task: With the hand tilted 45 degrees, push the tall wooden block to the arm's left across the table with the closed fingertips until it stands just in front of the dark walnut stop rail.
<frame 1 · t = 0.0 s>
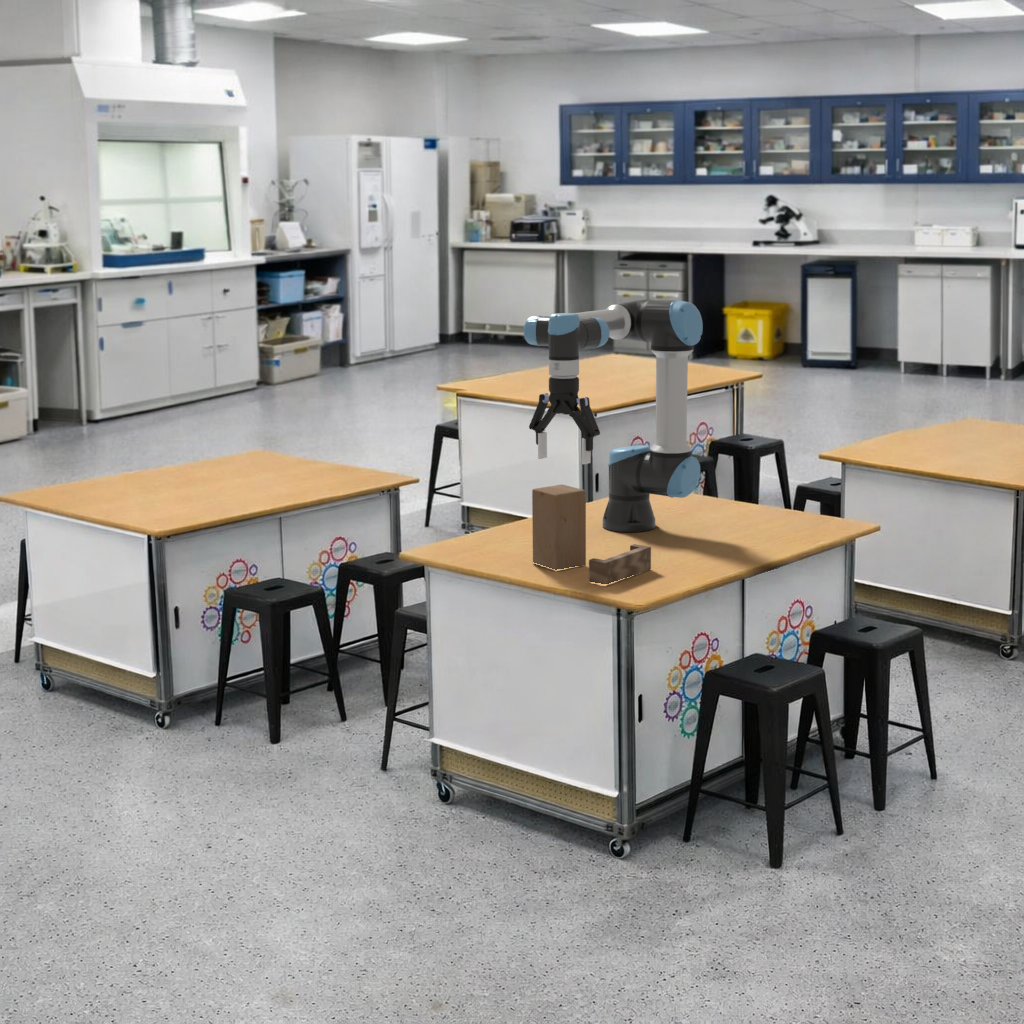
hand: (564, 460, 361), 28 cm above the workbench, tool pointing down, fingers open, 13 cm apart
stop rail: (625, 577, 359), on the workbench
wooden block: (559, 566, 371), on the workbench
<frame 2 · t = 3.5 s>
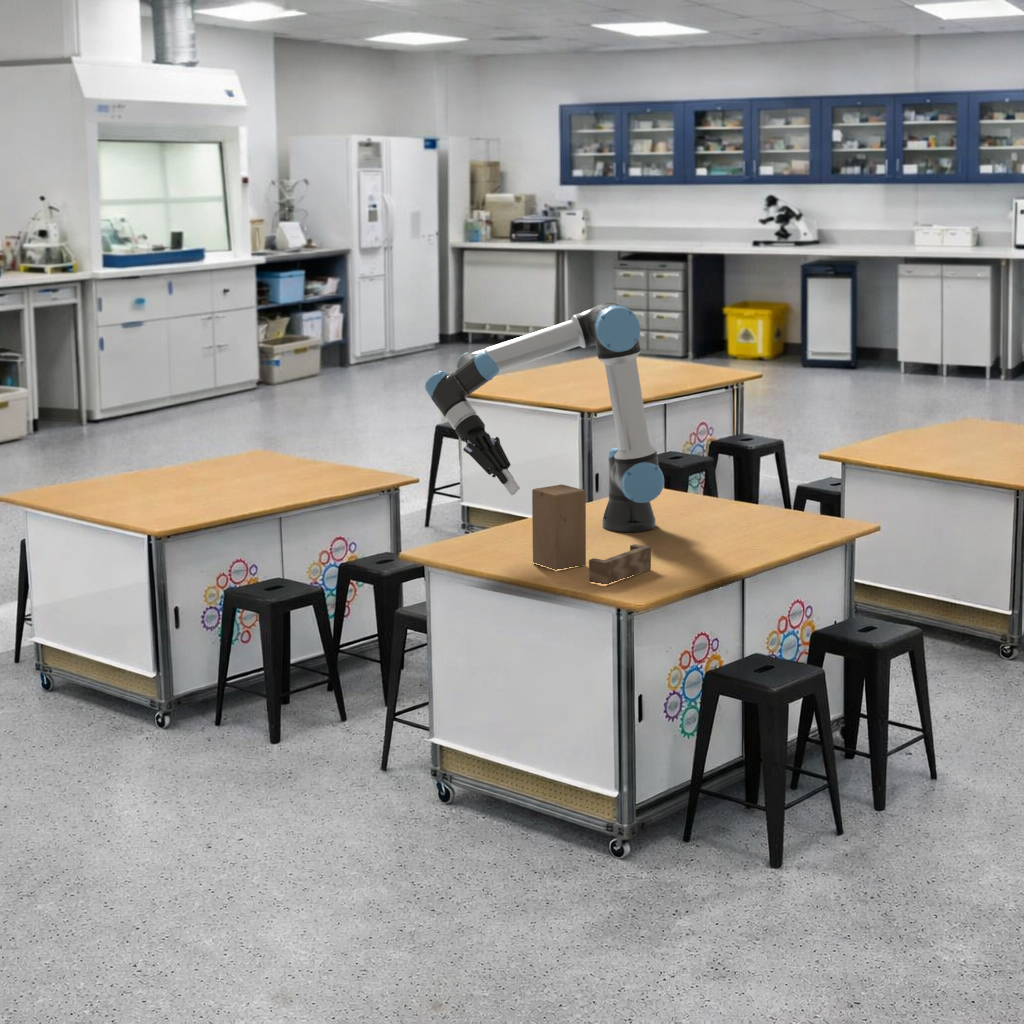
hand: (515, 491, 376), 18 cm above the workbench, tool tilted 45°, fingers closed
nothing on the workbench moved.
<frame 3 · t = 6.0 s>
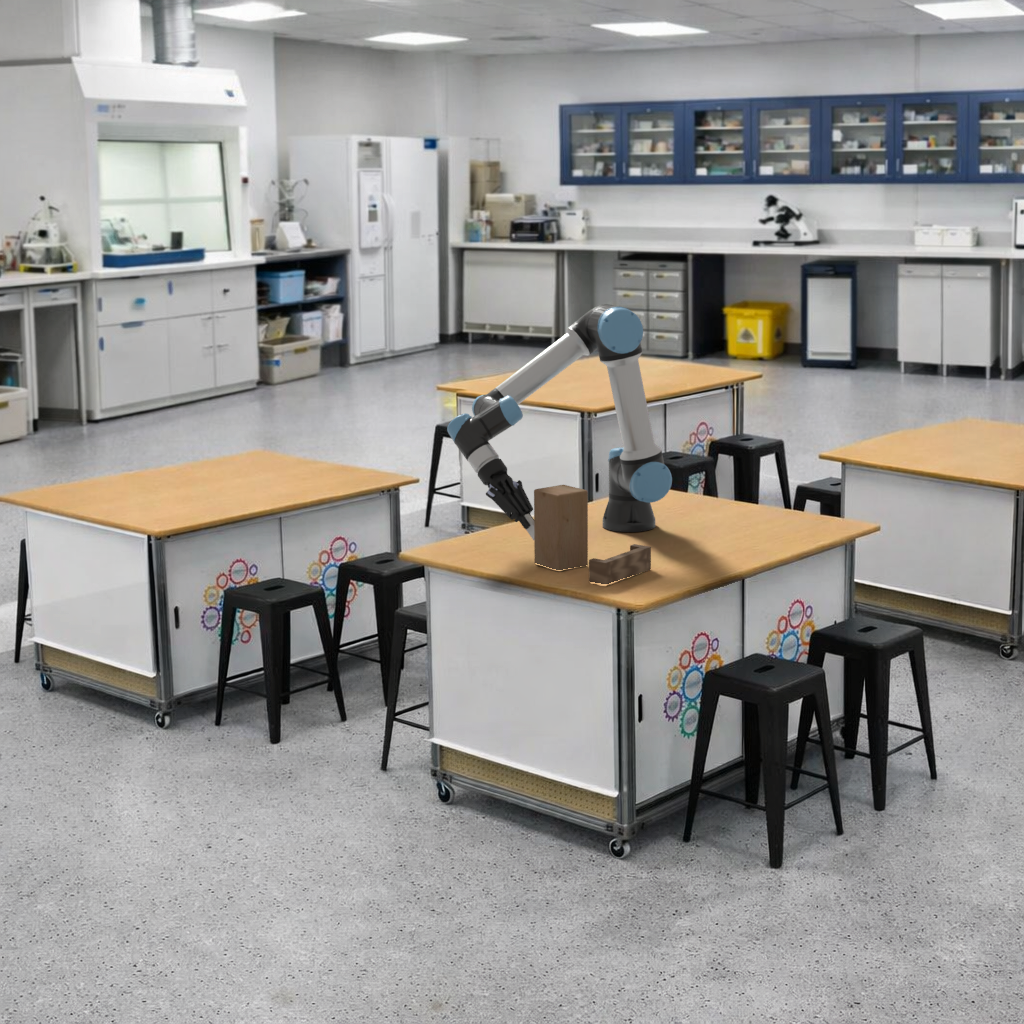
hand: (538, 536, 373), 7 cm above the workbench, tool tilted 45°, fingers closed
wooden block: (561, 566, 371), on the workbench, touching gripper
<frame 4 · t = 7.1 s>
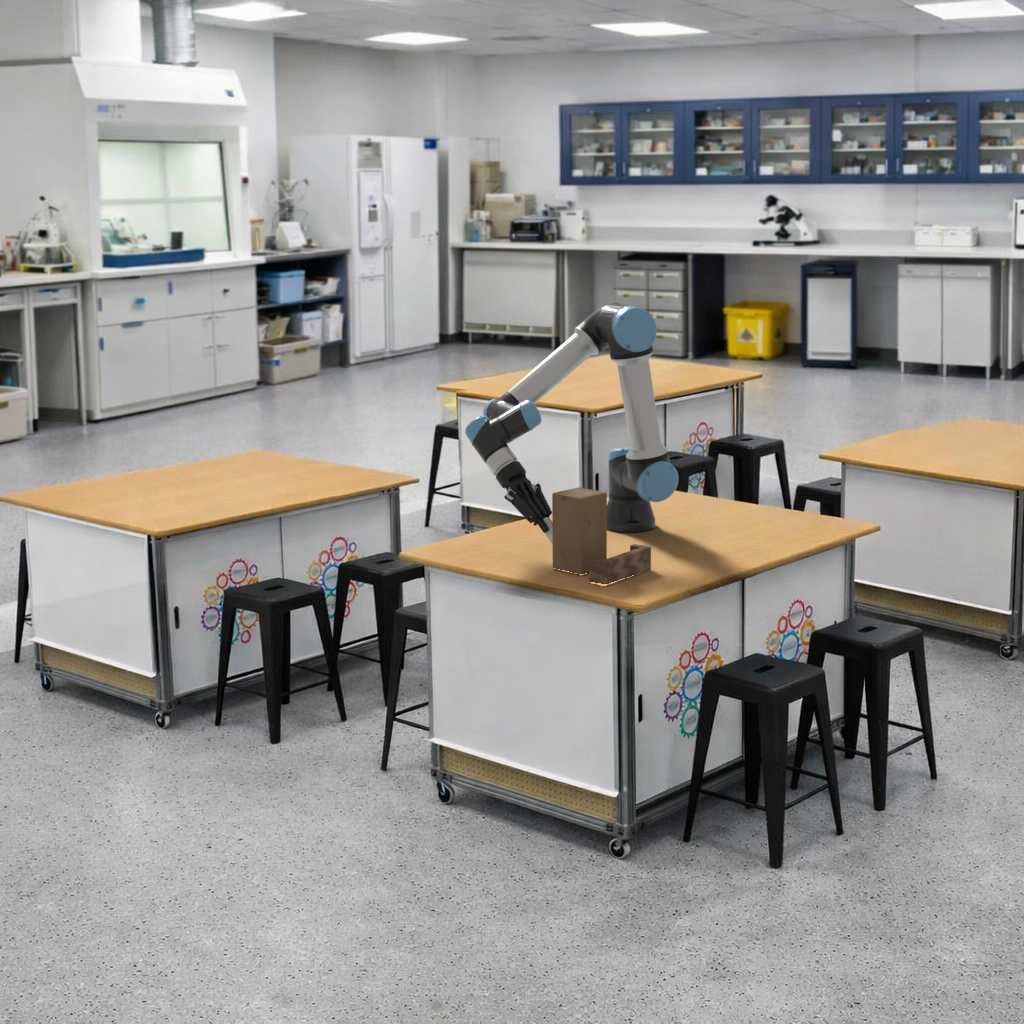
hand: (557, 540, 369), 7 cm above the workbench, tool tilted 45°, fingers closed
wooden block: (579, 570, 367), on the workbench, touching gripper
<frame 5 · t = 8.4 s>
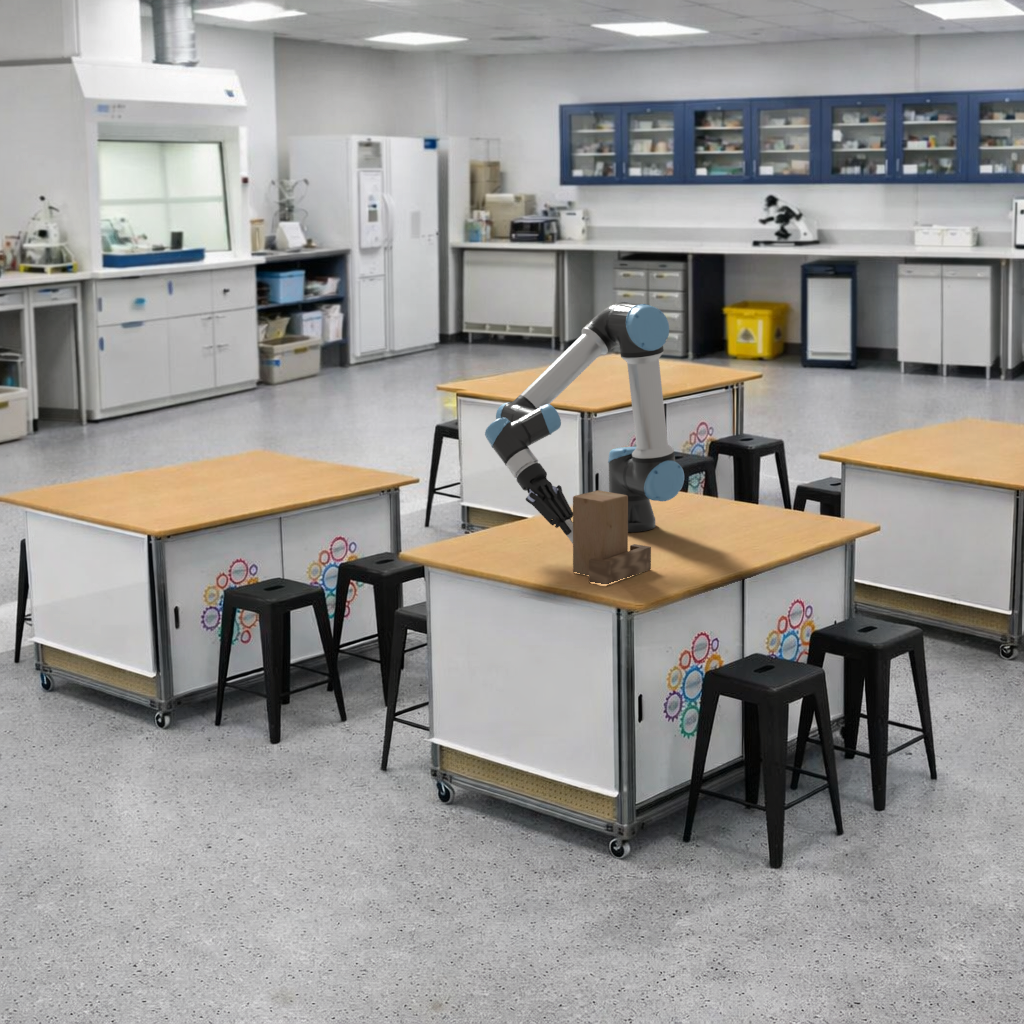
hand: (579, 542, 365), 7 cm above the workbench, tool tilted 45°, fingers closed
wooden block: (600, 573, 363), on the workbench, touching gripper
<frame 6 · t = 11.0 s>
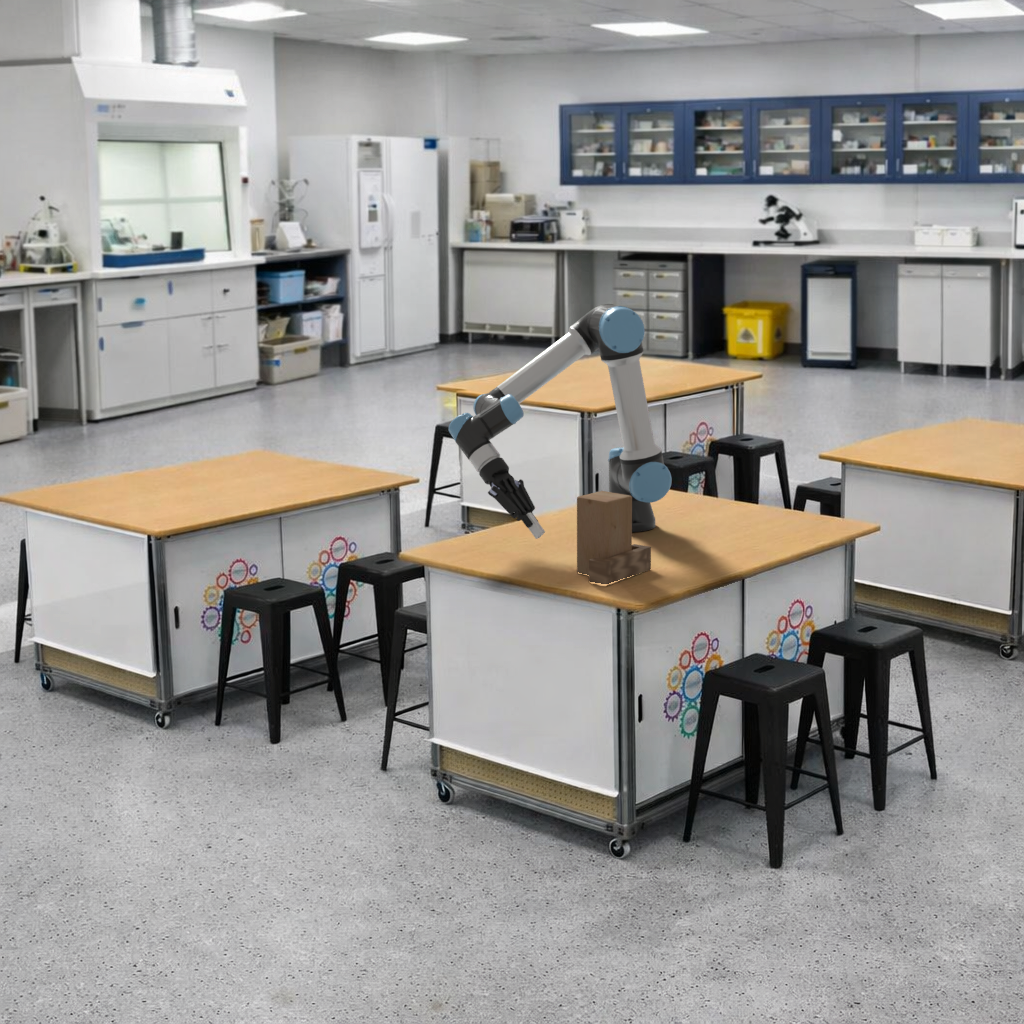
hand: (540, 535, 373), 7 cm above the workbench, tool tilted 45°, fingers closed
wooden block: (604, 574, 363), on the workbench
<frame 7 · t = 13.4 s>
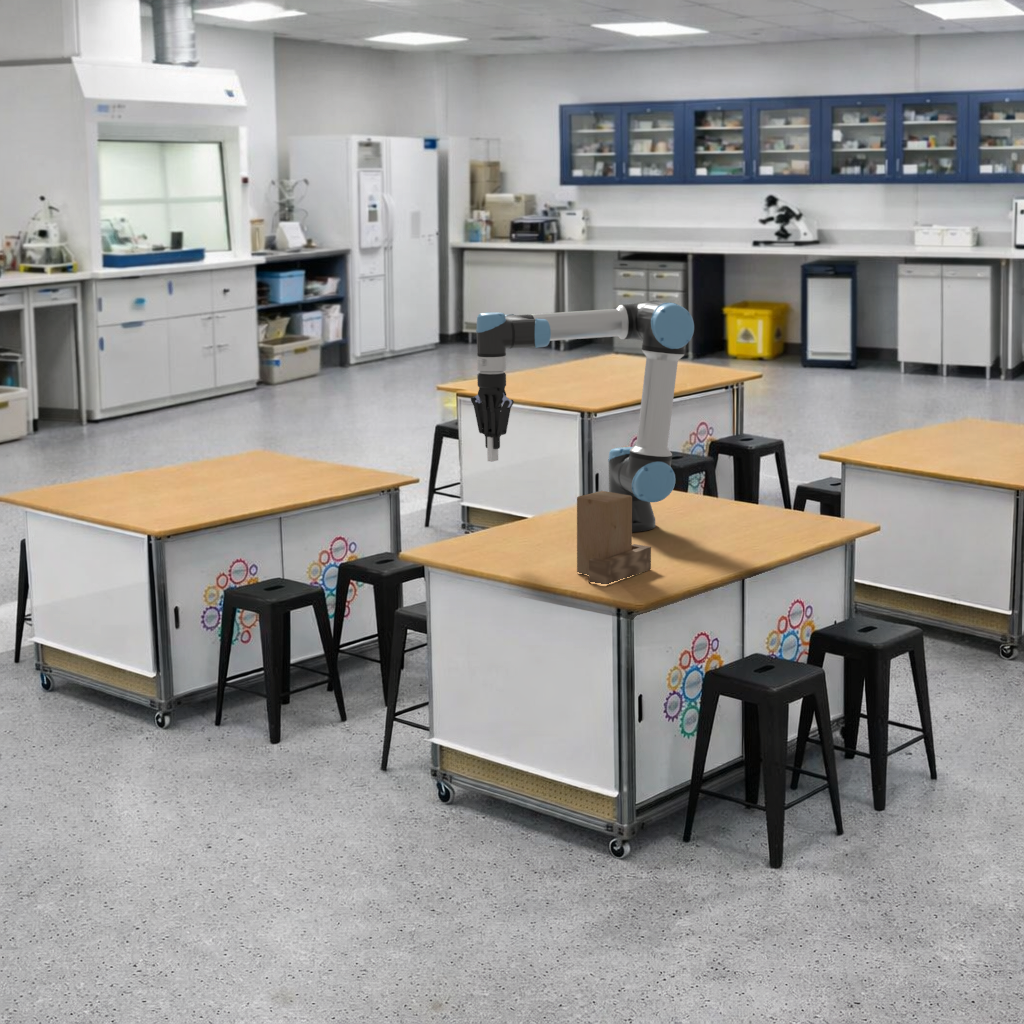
hand: (492, 460, 383), 24 cm above the workbench, tool pointing down, fingers closed
nothing on the workbench moved.
at the end: wooden block inside the target area (0.6 cm from its centre), on the workbench; wooden block tilted 0°; the gripper is holding nothing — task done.
